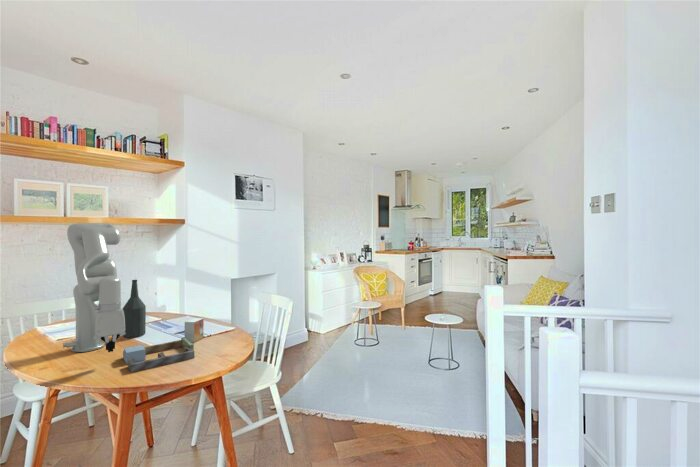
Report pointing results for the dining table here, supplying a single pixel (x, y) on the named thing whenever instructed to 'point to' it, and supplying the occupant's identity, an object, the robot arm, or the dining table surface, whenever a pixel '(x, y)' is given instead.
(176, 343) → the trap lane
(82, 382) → the dining table surface
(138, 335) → the bottle
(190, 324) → the small box
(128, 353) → the slate block
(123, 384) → the dining table surface
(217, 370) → the dining table surface
